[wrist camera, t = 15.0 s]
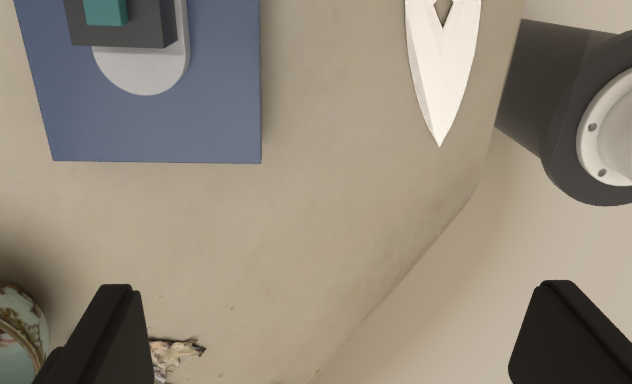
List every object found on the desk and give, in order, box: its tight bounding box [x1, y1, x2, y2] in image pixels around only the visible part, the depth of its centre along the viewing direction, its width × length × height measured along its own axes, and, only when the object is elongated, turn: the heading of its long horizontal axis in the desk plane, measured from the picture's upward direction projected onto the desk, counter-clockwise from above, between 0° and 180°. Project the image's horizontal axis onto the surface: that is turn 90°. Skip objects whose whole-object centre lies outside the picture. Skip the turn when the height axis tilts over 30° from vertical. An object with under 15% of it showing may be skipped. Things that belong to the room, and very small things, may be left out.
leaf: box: [64, 328, 206, 384], centre depth 47 cm, size 11×15×2 cm
